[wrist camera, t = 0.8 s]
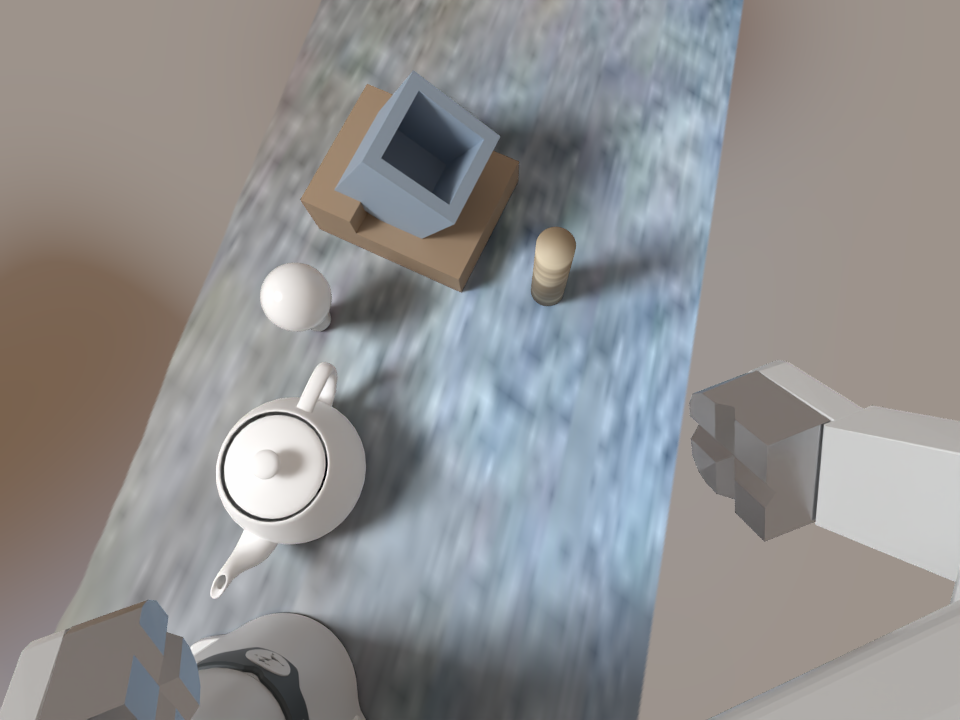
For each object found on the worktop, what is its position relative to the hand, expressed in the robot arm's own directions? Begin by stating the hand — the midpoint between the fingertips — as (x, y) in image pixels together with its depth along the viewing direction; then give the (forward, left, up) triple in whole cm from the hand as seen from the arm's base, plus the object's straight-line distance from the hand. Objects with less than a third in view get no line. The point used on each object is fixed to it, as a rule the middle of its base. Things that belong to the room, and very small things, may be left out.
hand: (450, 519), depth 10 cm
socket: (+25, +21, -55) cm, 64 cm away
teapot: (-6, +19, -55) cm, 59 cm away
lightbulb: (+9, +25, -55) cm, 61 cm away
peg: (+22, +5, -55) cm, 59 cm away
